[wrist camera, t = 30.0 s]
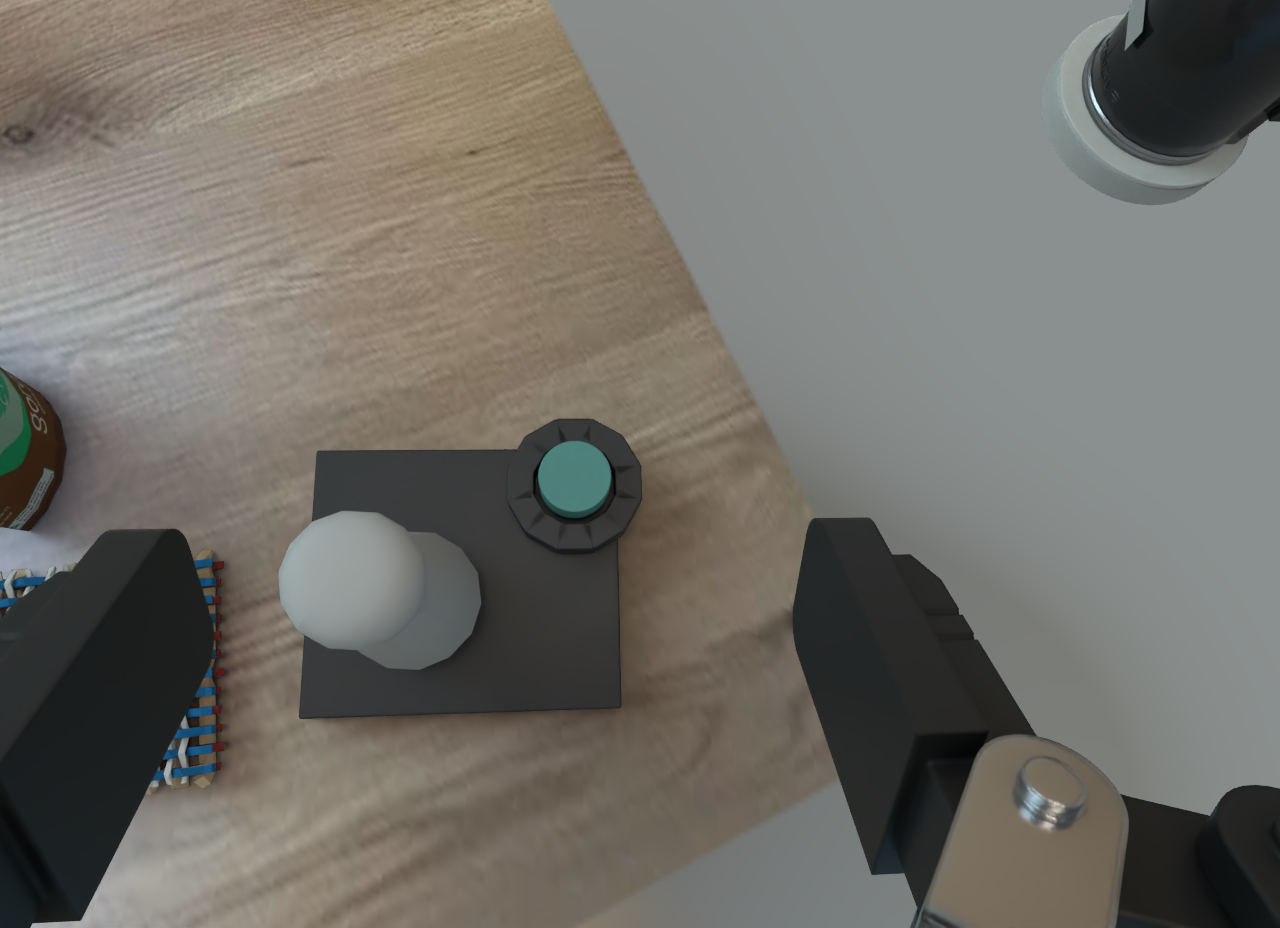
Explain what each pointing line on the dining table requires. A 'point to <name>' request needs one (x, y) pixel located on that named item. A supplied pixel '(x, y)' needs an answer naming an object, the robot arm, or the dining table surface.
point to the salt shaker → (379, 590)
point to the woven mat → (178, 751)
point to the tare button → (574, 479)
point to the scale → (490, 579)
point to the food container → (27, 453)
